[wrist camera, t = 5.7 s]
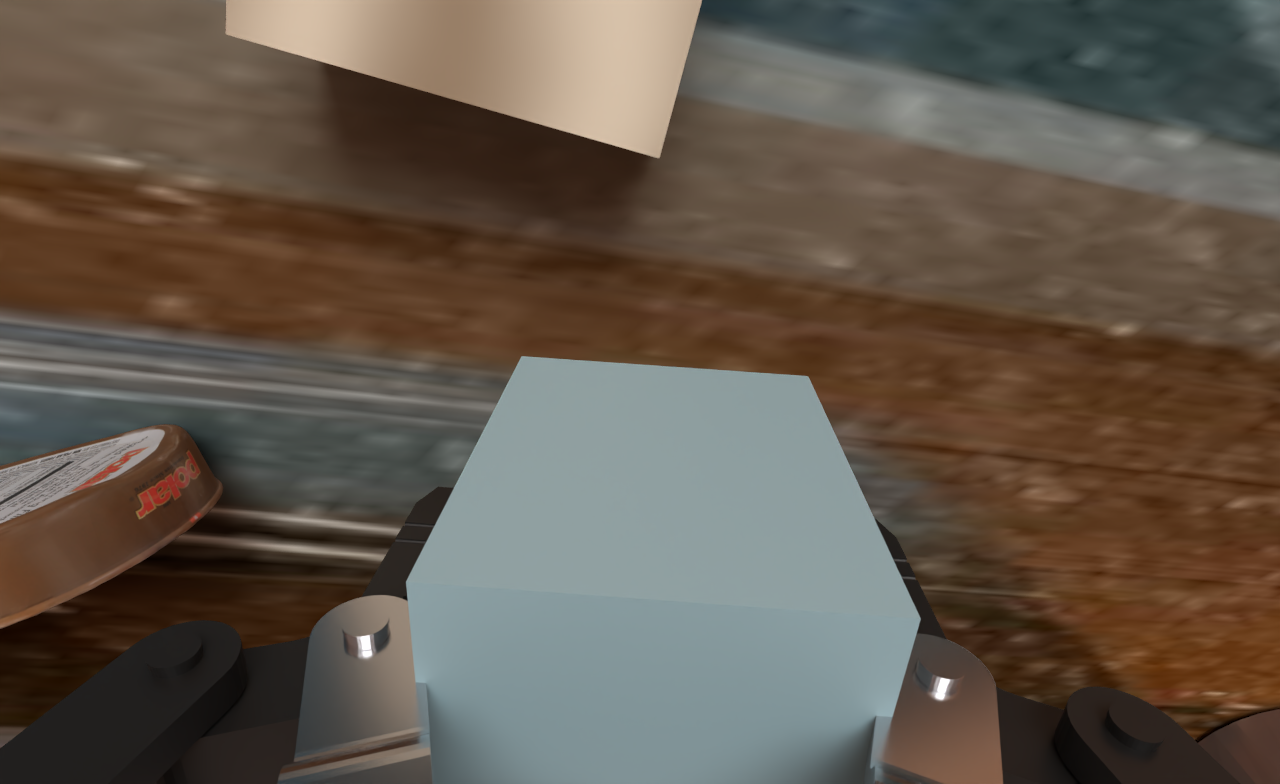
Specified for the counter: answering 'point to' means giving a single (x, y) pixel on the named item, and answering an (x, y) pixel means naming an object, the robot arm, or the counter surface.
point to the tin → (95, 513)
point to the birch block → (503, 54)
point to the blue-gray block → (656, 587)
